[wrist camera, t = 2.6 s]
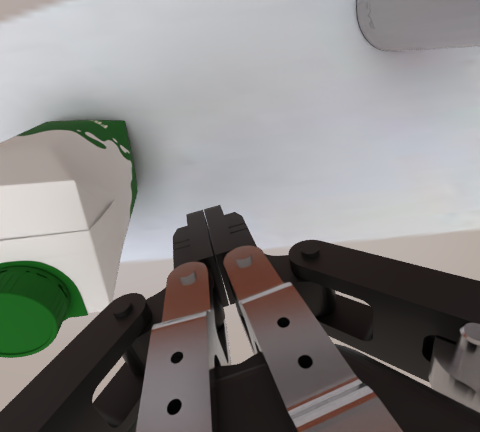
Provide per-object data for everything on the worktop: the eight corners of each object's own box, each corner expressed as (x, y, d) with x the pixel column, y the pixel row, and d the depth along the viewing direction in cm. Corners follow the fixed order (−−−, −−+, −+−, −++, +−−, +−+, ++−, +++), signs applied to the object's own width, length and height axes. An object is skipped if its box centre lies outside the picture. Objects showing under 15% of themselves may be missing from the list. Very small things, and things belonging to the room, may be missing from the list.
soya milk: (61, 202, 31) (-80, 380, 14) (32, 112, 27) (-225, 202, 9) (147, 195, 32) (120, 346, 15) (132, 108, 28) (71, 179, 11)
